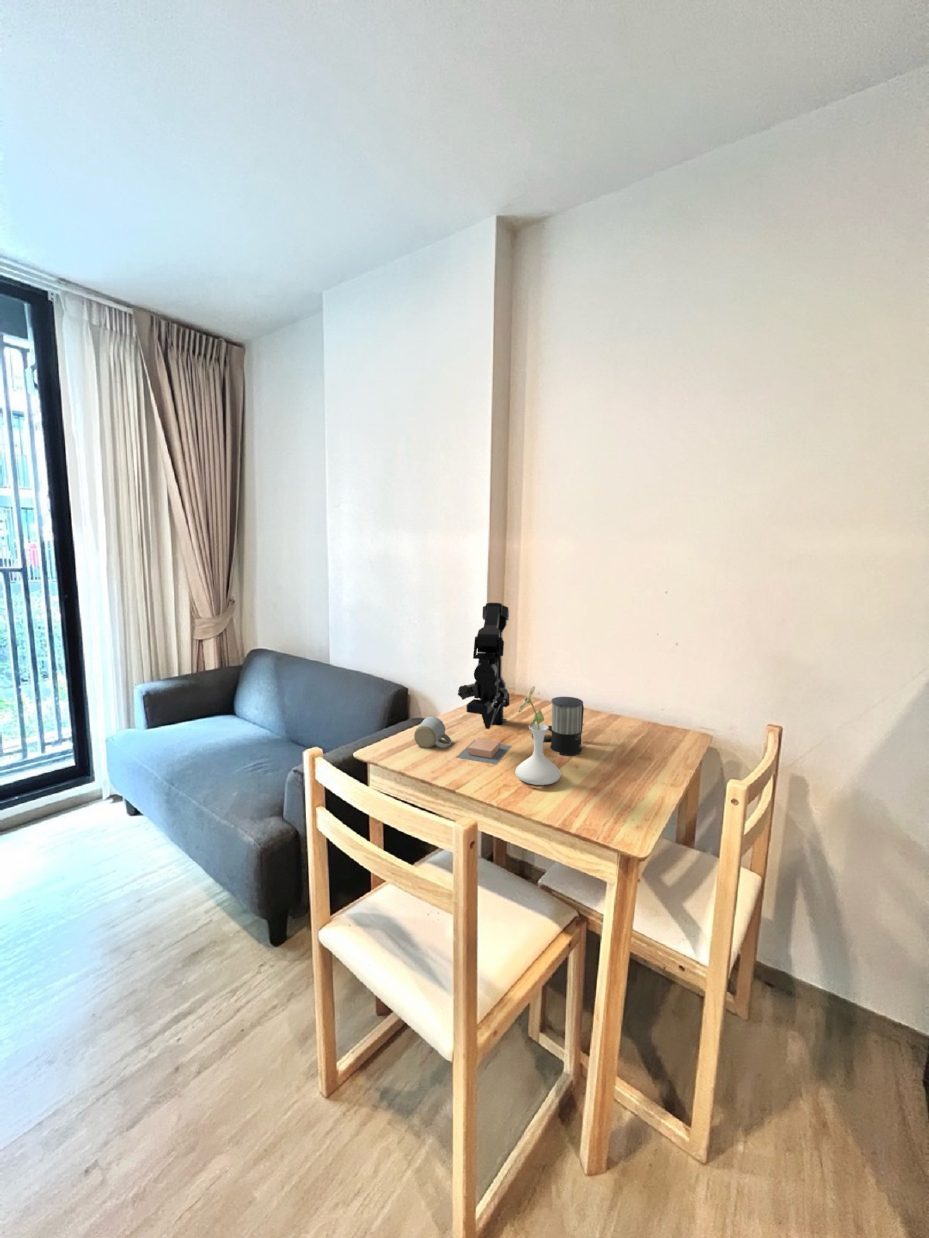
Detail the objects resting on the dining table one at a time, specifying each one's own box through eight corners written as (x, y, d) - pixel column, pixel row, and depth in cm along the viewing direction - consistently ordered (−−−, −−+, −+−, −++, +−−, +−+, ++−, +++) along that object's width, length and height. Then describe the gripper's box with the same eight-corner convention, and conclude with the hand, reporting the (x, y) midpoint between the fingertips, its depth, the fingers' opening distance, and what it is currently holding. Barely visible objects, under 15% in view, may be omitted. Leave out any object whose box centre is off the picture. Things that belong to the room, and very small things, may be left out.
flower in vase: (530, 765, 133) (532, 675, 130) (568, 777, 126) (571, 682, 122) (502, 782, 123) (503, 685, 120) (542, 797, 116) (544, 693, 112)
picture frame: (478, 737, 146) (467, 747, 138) (500, 741, 143) (491, 751, 136) (478, 744, 146) (467, 754, 139) (500, 748, 143) (491, 758, 136)
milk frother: (580, 758, 138) (581, 706, 136) (524, 750, 143) (525, 701, 141) (585, 740, 151) (586, 693, 149) (534, 734, 156) (535, 688, 155)
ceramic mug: (412, 748, 145) (412, 723, 144) (422, 738, 153) (422, 714, 152) (446, 752, 142) (447, 727, 141) (454, 742, 150) (455, 718, 149)
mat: (474, 741, 150) (474, 740, 150) (511, 747, 145) (511, 746, 145) (455, 758, 137) (455, 757, 137) (496, 766, 132) (496, 764, 132)
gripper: (474, 666, 152) (474, 715, 154) (449, 680, 135) (449, 735, 137) (508, 670, 148) (507, 720, 150) (486, 685, 131) (486, 741, 133)
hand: (487, 728), depth 143 cm, fingers closed
